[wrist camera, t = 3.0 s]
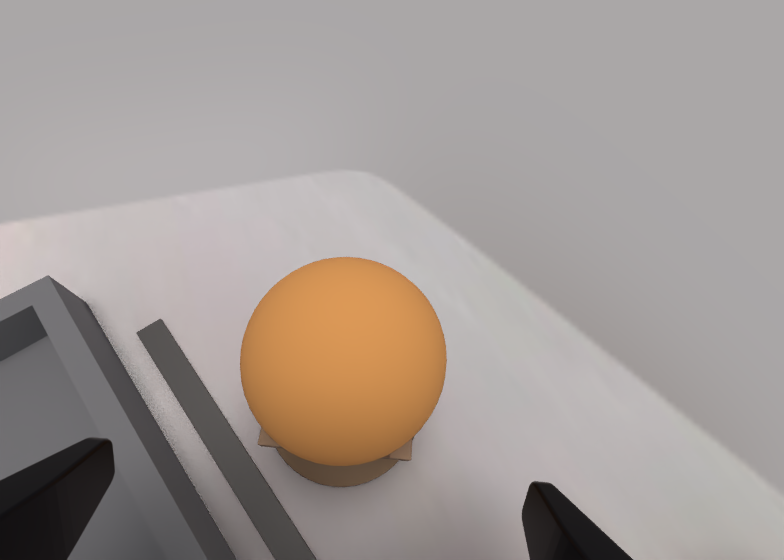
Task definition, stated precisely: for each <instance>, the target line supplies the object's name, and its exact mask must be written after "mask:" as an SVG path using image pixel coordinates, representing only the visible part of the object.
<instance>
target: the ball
mask: <svg viewBox="0 0 784 560" xmlns="http://www.w3.org/2000/svg"><path fill="white" fill-rule="evenodd" d="M446 361H447V359H446V345H445V339H444V334H443V331H442V328H441V325H440V322H439V319H438V317H437V315H436V313H435V311H434V309H433V307H432V306H431V304H430V302H429V301H428V299H427V298H426V297H425V295H424V294H423V293H422V292H421V291H420V289H418V288H417V287H416V286H415V285H414V284H413V283H412V282H411V281H410V280H409V279H407V278H406V277H405V276H403V275H402V274H401V273H399V272H397V271H395V270H394V269H392V268H390V267H388V266H386V265H383V264H381V263H378V262H375V261H371V260H367V259H362V258H353V257H337V258H329V259H323V260H320V261H316V262H313V263H310V264H308V265H305V266H303V267H301V268H299V269H297V270H295V271H293V272H291V273H290V274H289V275H287V276H286V277H284V278H283V279H282V280H280V281H279V282H278V283H277V284H276V285H274V286H273V287H272V288H271V289H270V290H269V291H268V292H267V294H266V295H265V296H264V297H263V298H262V300H261V301H260V303H259V304H258V306H257V307H256V309H255V310H254V312H253V314H252V316H251V318H250V320H249V323H248V325H247V328H246V331H245V334H244V337H243V342H242V347H241V356H240V370H241V382H242V386H243V390H244V395H245V397H246V400H247V402H248V405H249V408H250V409H251V411H252V413H253V415H254V416H255V418H256V420H257V421H258V423H259V424H260V425H261V427H262V428H263V429H264V431H265V432H266V433H267V434H268V435H269V436H270V437H271V438H272V439H273V440H274V441H275V442H276V443H277V444H278V445H280V446H281V447H283V448H284V449H286V450H287V451H288V452H290V453H292V454H294V455H296V456H298V457H300V458H302V459H305V460H308V461H311V462H314V463H318V464H324V465H330V466H351V465H359V464H364V463H367V462H371V461H375V460H377V459H380V458H382V457H384V456H387V455H389V454H390V453H392V452H394V451H395V450H397V449H399V448H400V447H402V446H403V445H404V444H405V443H407V442H408V441H409V440H411V439H412V438H413V437H414V436H415V434H416V433H417V432H418V431H419V430H420V429H421V428H422V427H423V425H424V424H425V422H426V421H427V420H428V418H429V417H430V416H431V414H432V412H433V410H434V408H435V406H436V404H437V402H438V400H439V397H440V394H441V392H442V388H443V384H444V380H445V372H446Z"/></svg>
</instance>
